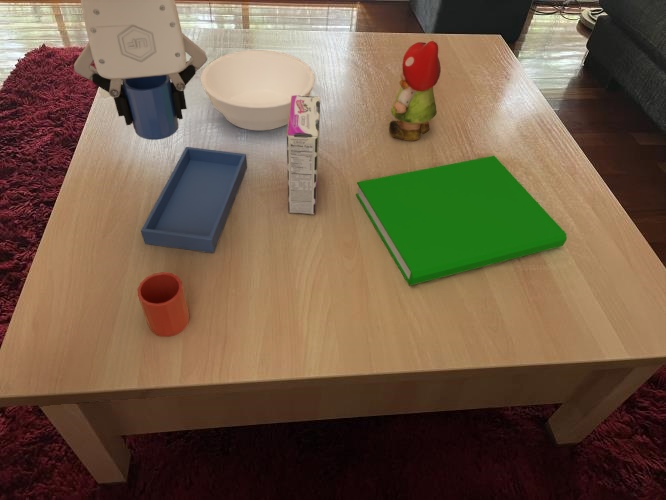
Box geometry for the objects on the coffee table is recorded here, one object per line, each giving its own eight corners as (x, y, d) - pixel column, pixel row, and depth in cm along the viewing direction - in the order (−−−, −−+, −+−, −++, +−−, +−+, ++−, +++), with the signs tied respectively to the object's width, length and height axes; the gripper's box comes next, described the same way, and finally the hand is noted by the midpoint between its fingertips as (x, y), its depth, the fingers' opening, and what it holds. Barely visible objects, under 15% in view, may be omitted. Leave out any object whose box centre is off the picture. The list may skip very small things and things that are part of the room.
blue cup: (170, 142, 67) (160, 93, 62) (128, 137, 68) (114, 87, 63) (184, 118, 71) (175, 70, 66) (144, 113, 71) (132, 65, 66)
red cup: (182, 339, 71) (173, 308, 66) (142, 333, 72) (130, 302, 67) (194, 306, 75) (187, 275, 70) (156, 301, 75) (146, 269, 70)
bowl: (329, 133, 107) (331, 96, 101) (219, 153, 100) (215, 115, 94) (293, 79, 121) (293, 43, 115) (195, 93, 114) (190, 56, 108)
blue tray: (213, 253, 82) (211, 239, 80) (144, 244, 83) (140, 230, 81) (247, 167, 98) (246, 153, 96) (188, 159, 98) (185, 146, 96)
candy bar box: (290, 173, 97) (290, 93, 85) (317, 175, 97) (321, 95, 85) (286, 214, 89) (285, 133, 78) (315, 216, 90) (319, 135, 78)
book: (355, 194, 94) (357, 181, 92) (489, 168, 102) (494, 155, 100) (410, 288, 80) (413, 275, 78) (561, 248, 88) (568, 236, 85)
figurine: (397, 113, 113) (413, 20, 99) (436, 123, 111) (458, 30, 97) (382, 140, 106) (396, 44, 92) (423, 151, 104) (444, 55, 90)
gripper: (28, -15, 51) (83, 141, 64) (209, -24, 55) (225, 124, 68) (34, -43, 55) (84, 108, 69) (200, -49, 59) (216, 94, 73)
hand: (154, 115), depth 68 cm, fingers closed on blue cup, 5 cm apart
